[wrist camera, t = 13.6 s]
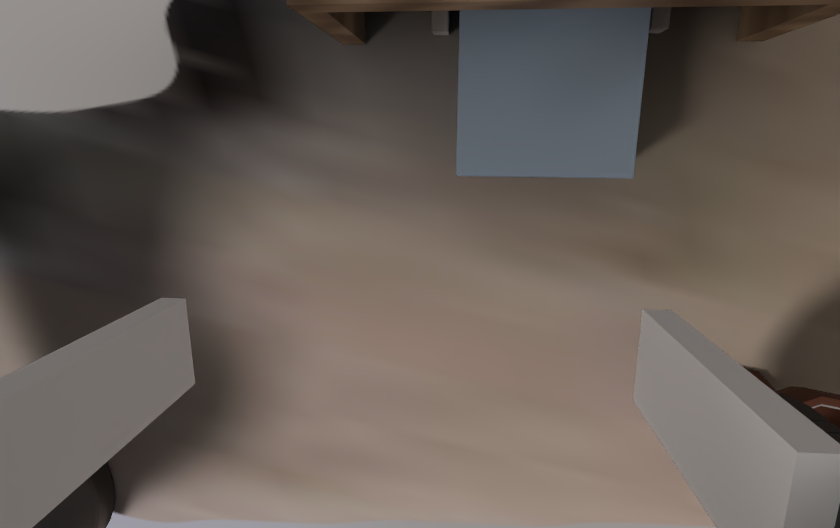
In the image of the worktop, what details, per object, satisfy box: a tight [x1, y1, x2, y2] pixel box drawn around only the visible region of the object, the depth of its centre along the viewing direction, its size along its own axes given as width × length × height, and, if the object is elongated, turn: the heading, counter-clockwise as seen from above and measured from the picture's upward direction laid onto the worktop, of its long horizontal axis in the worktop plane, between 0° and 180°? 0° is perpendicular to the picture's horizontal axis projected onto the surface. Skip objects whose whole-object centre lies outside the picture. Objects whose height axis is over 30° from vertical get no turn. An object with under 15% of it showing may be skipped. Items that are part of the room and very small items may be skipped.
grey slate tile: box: [456, 7, 651, 178], centre depth 29 cm, size 10×18×5 cm, turn 0°
